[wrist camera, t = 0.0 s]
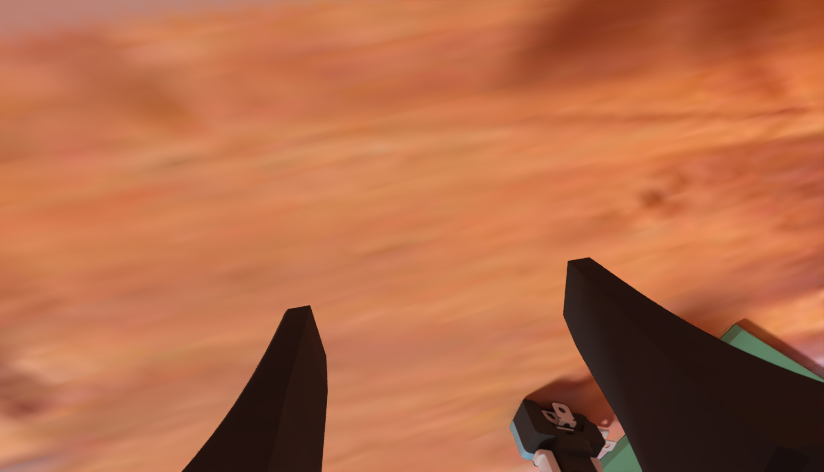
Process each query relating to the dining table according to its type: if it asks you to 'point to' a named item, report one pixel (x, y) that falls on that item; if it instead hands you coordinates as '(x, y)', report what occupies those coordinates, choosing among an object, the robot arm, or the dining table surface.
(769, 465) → the robot arm
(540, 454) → the push button
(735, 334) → the circuit board
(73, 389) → the dining table surface
